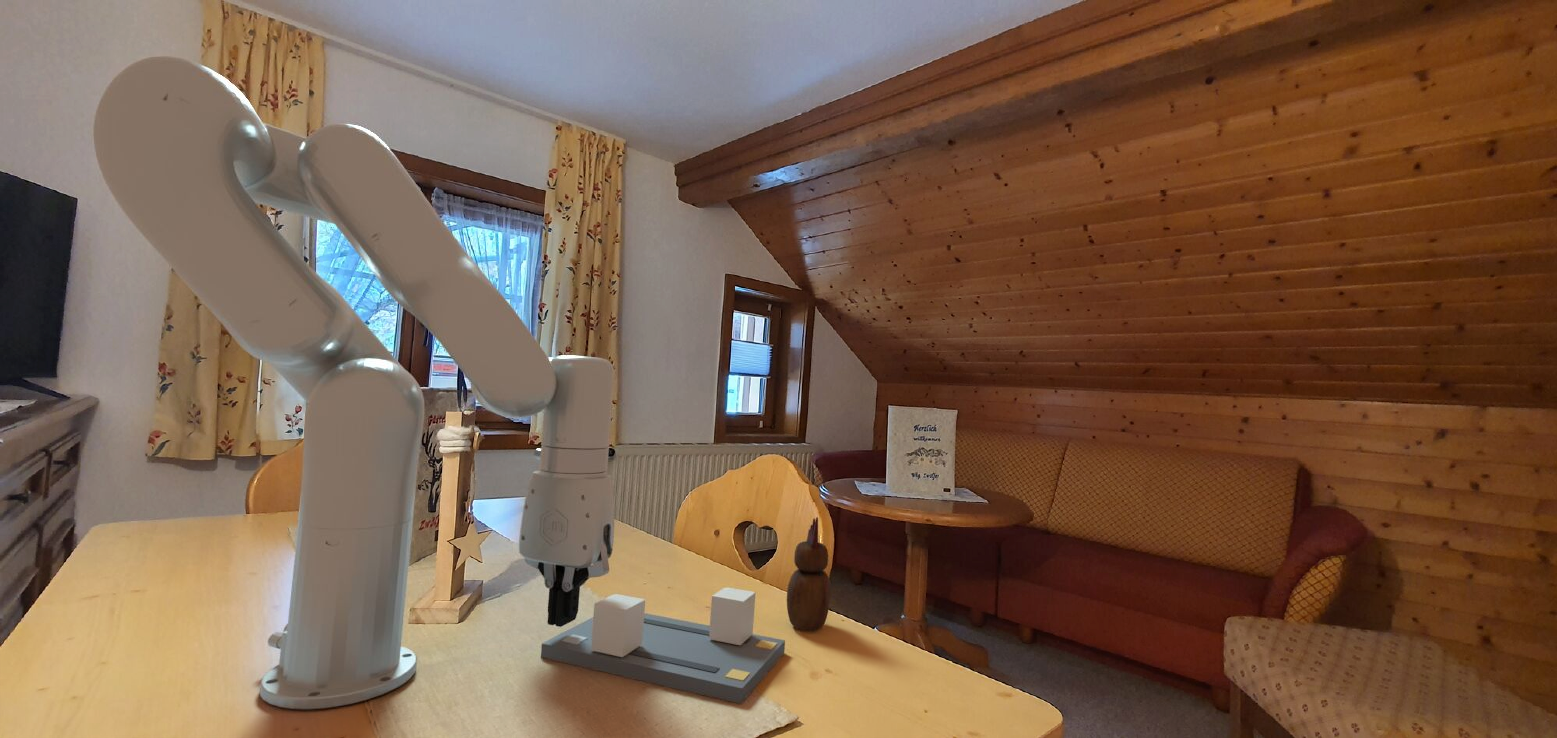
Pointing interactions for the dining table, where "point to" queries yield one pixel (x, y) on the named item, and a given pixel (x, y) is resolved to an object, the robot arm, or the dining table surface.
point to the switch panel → (676, 657)
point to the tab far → (732, 615)
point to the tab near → (618, 625)
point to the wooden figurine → (809, 584)
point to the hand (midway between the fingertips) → (562, 621)
